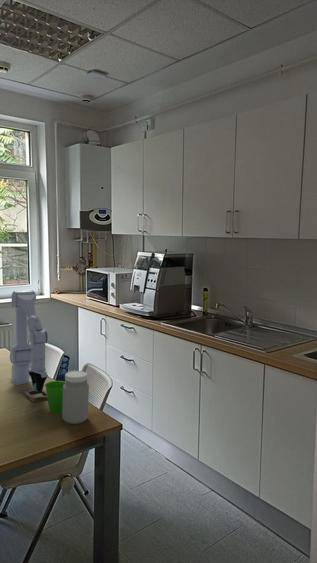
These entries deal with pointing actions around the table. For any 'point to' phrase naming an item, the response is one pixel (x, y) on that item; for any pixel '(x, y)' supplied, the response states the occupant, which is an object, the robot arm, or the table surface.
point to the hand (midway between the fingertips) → (37, 389)
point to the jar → (75, 397)
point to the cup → (55, 396)
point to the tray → (36, 395)
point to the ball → (35, 387)
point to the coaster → (23, 391)
